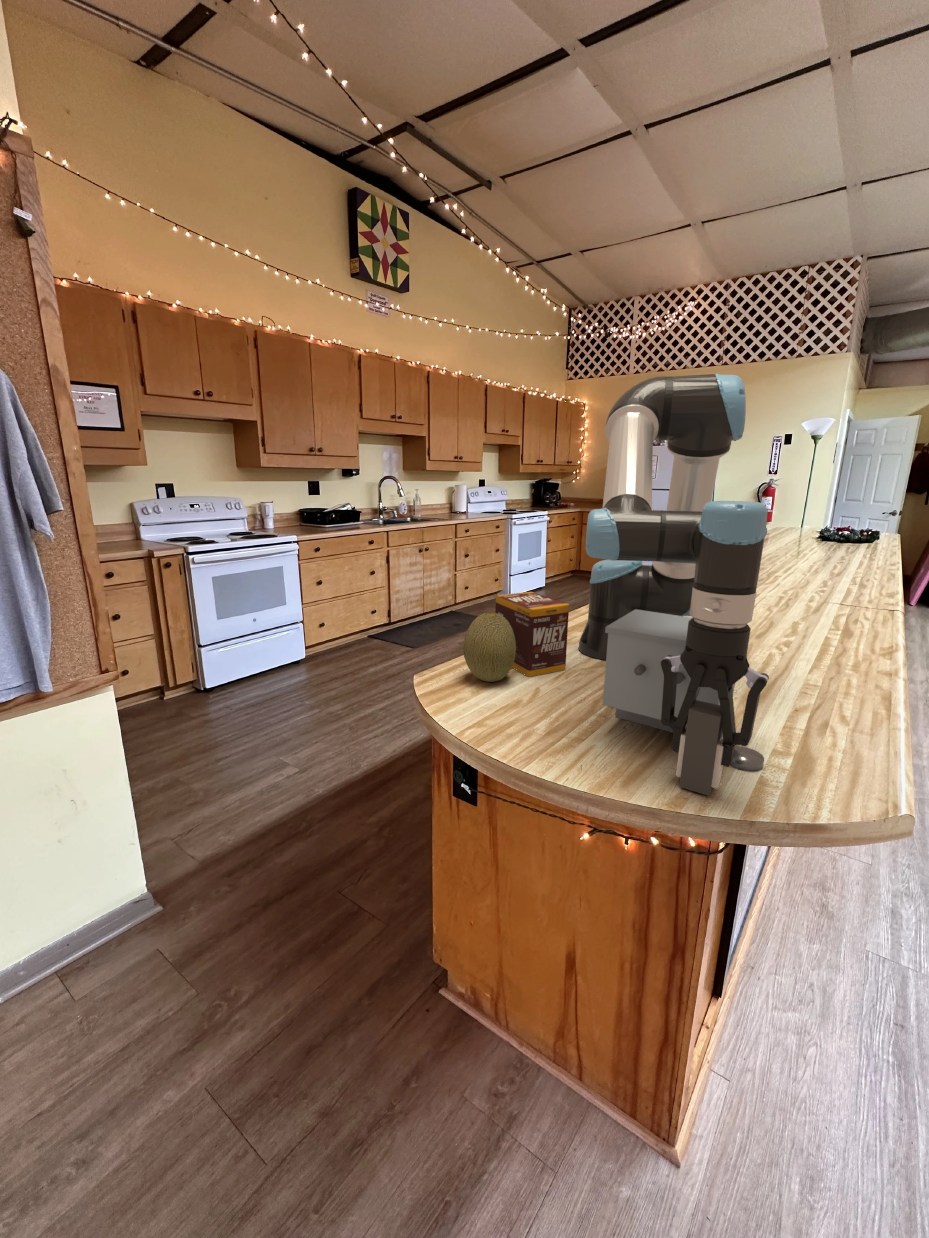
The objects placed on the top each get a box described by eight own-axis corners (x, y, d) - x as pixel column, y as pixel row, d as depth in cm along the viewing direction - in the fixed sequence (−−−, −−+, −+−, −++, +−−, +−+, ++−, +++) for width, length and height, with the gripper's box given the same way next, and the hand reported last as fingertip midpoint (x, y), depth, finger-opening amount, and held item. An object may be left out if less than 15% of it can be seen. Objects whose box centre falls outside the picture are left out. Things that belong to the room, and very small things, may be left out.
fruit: (452, 679, 118) (452, 612, 114) (486, 666, 126) (487, 603, 122) (492, 693, 111) (494, 623, 107) (526, 679, 119) (528, 612, 115)
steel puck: (718, 763, 85) (719, 754, 85) (730, 751, 89) (731, 742, 89) (756, 777, 82) (757, 767, 81) (767, 763, 85) (768, 754, 85)
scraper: (679, 786, 78) (688, 709, 75) (705, 739, 91) (714, 673, 88) (709, 795, 76) (720, 717, 72) (731, 746, 89) (742, 678, 86)
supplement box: (528, 678, 119) (531, 609, 115) (493, 657, 132) (494, 594, 128) (566, 670, 124) (570, 604, 120) (528, 651, 137) (531, 590, 133)
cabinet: (594, 733, 94) (602, 628, 89) (626, 703, 107) (635, 609, 102) (710, 767, 83) (727, 650, 78) (731, 729, 96) (746, 625, 91)
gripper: (645, 616, 74) (630, 770, 80) (790, 639, 64) (760, 812, 70) (662, 605, 79) (646, 749, 86) (797, 625, 70) (769, 785, 76)
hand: (698, 777), depth 78 cm, fingers closed on scraper, 4 cm apart
